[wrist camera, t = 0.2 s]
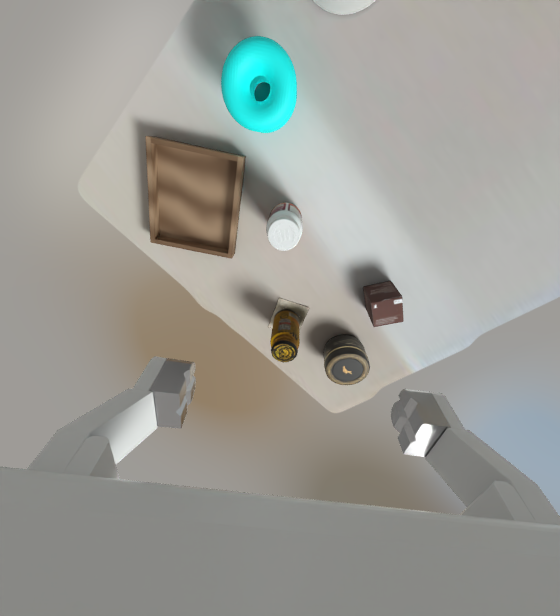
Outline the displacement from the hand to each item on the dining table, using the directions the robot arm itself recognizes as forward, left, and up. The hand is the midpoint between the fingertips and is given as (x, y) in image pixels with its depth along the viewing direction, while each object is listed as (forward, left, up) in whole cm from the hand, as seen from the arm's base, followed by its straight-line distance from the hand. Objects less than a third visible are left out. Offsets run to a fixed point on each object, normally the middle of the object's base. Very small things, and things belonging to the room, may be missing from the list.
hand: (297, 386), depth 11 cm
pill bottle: (+5, -1, -48) cm, 48 cm away
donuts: (-13, -8, -48) cm, 50 cm away
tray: (+5, -18, -48) cm, 51 cm away
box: (+17, +22, -48) cm, 55 cm away
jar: (+33, +19, -48) cm, 61 cm away
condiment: (+27, +4, -48) cm, 55 cm away
